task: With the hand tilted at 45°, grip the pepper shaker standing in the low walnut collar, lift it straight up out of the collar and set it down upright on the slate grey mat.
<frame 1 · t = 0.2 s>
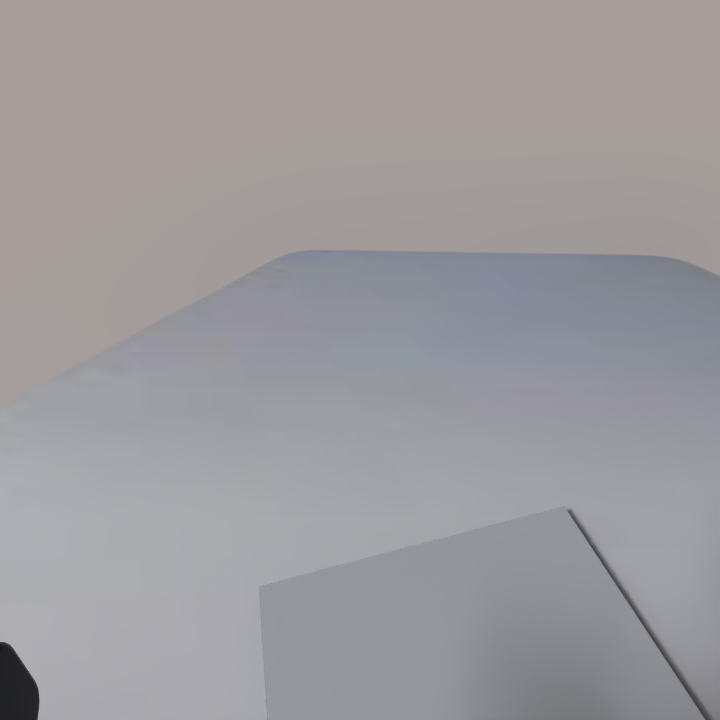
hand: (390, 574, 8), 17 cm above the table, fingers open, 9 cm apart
slate grey mat: (466, 705, 23), on the table
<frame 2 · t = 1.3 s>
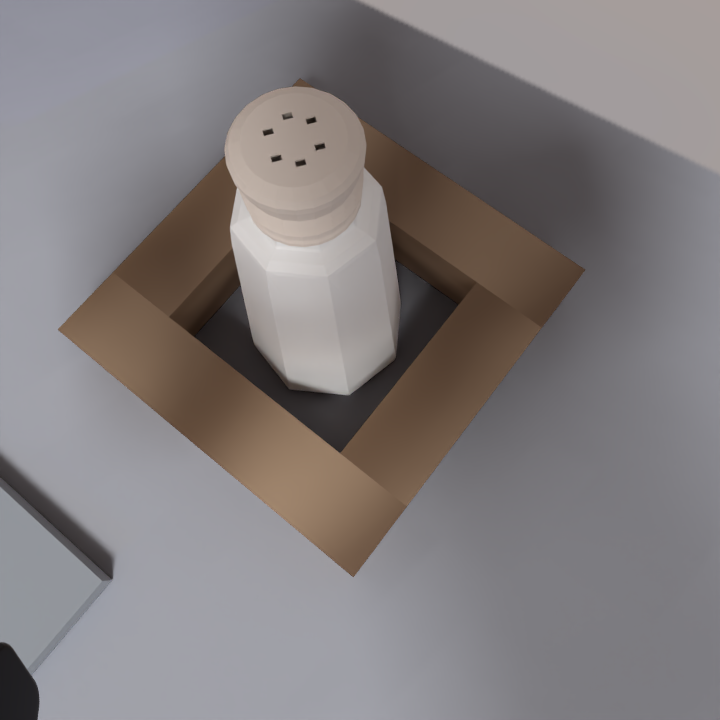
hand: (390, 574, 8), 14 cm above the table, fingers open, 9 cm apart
pepper shaker: (328, 327, 23), resting in walnut collar
walnut collar: (328, 325, 23), on the table
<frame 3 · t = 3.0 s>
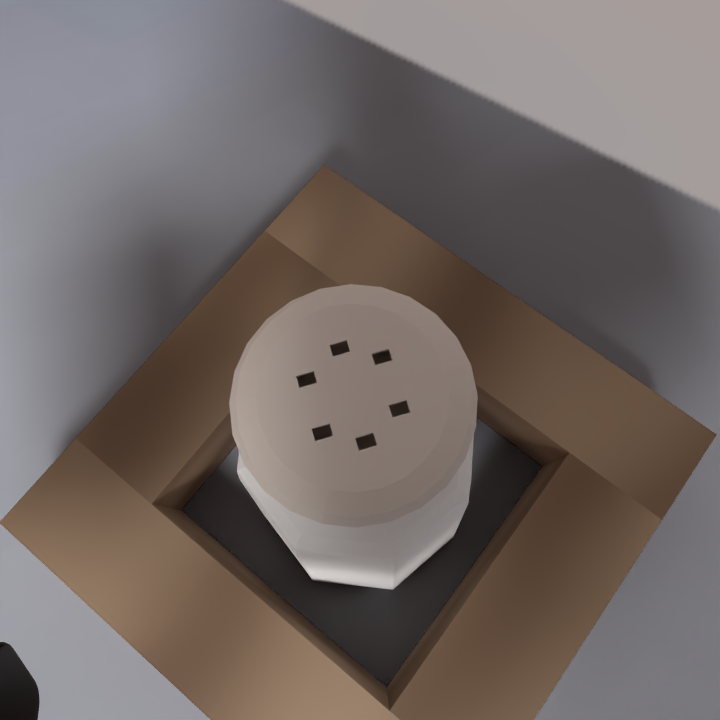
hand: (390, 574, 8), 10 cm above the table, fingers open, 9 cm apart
pepper shaker: (362, 488, 18), resting in walnut collar
walnut collar: (362, 488, 18), on the table
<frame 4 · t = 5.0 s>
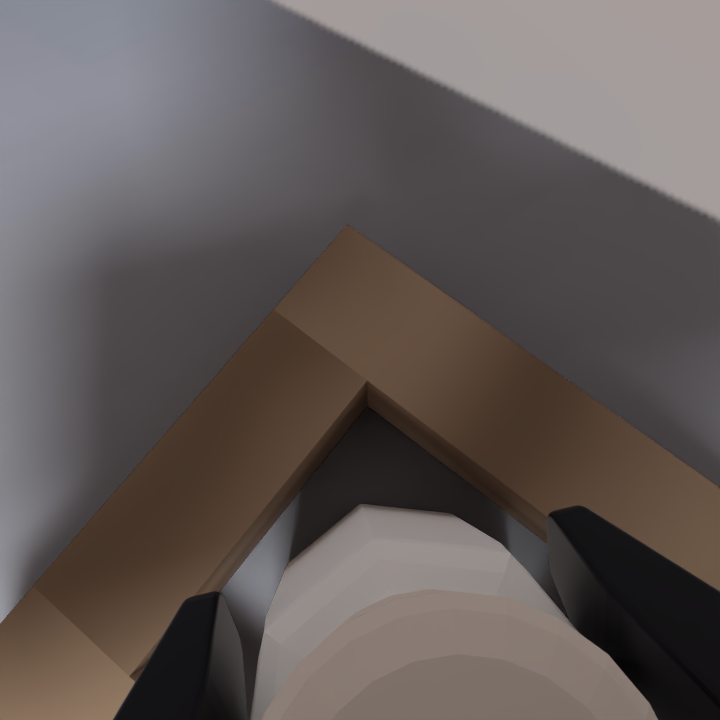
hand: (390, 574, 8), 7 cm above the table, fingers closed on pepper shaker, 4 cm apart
pepper shaker: (394, 624, 14), resting in walnut collar, touching gripper
walnut collar: (395, 625, 14), on the table
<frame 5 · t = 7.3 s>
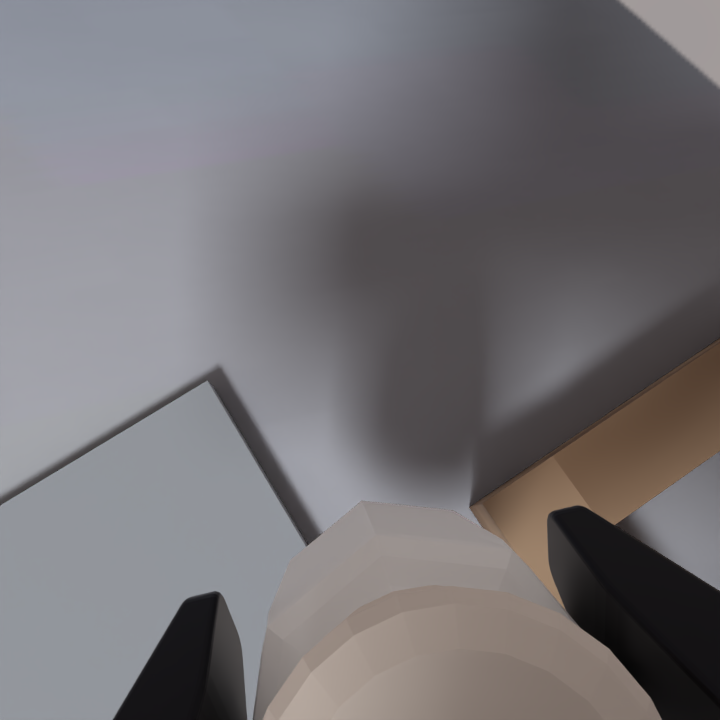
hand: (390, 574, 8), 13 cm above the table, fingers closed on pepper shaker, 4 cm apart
pepper shaker: (396, 620, 14), point 6 cm above the table, touching gripper
slate grey mat: (123, 698, 20), on the table
when the fingers open (9 cm above the table, at t = 9.6 s): pepper shaker drops 1 cm, resting on slate grey mat.
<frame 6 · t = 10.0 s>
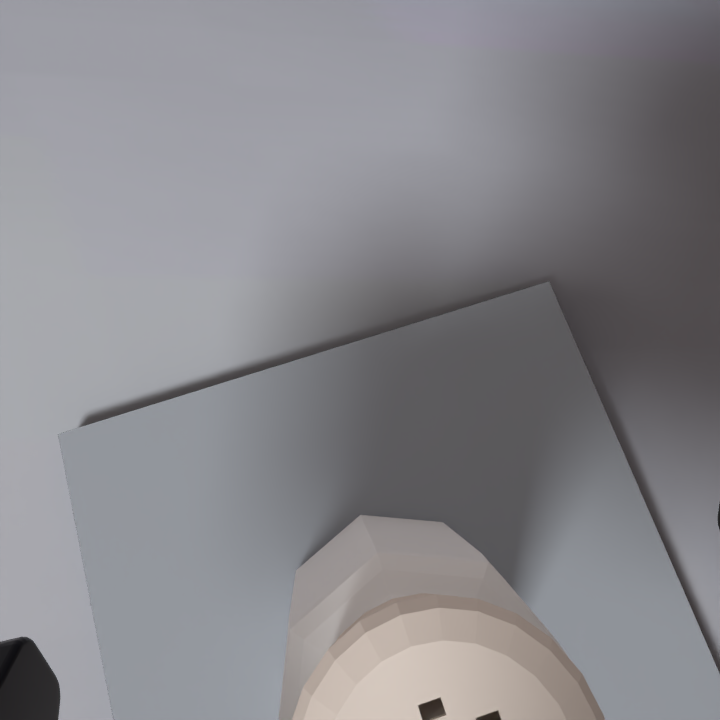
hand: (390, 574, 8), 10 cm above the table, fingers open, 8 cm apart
pepper shaker: (393, 623, 16), point 1 cm above the table, touching slate grey mat
slate grey mat: (391, 613, 17), on the table
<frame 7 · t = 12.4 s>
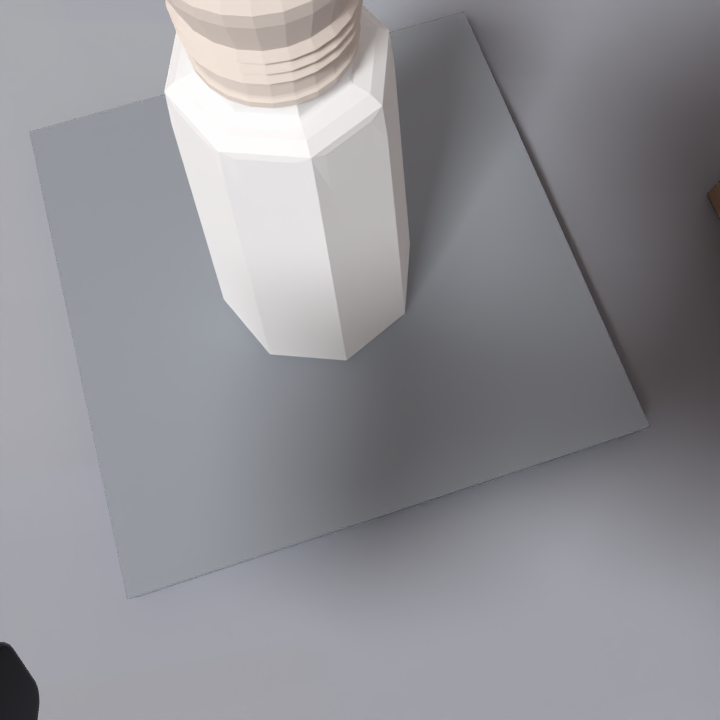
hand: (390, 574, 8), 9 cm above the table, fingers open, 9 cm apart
pepper shaker: (318, 276, 18), point 1 cm above the table, touching slate grey mat
slate grey mat: (319, 279, 19), on the table
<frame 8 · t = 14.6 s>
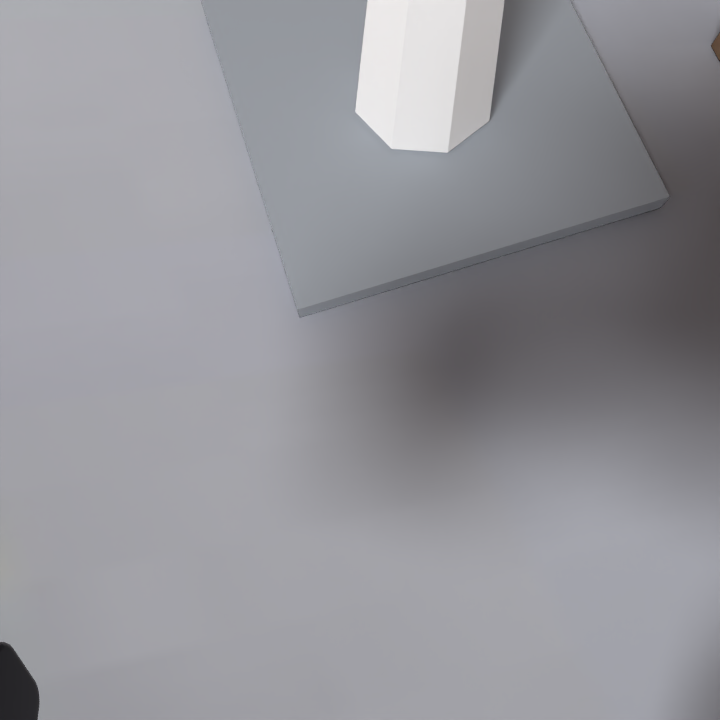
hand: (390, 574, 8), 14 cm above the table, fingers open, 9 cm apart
pepper shaker: (422, 99, 25), point 1 cm above the table, touching slate grey mat
slate grey mat: (420, 105, 25), on the table
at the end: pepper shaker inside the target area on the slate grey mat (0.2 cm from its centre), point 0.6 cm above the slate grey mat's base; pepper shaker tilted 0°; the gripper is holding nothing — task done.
